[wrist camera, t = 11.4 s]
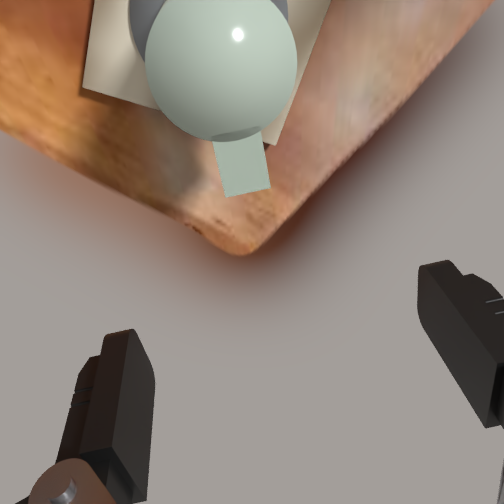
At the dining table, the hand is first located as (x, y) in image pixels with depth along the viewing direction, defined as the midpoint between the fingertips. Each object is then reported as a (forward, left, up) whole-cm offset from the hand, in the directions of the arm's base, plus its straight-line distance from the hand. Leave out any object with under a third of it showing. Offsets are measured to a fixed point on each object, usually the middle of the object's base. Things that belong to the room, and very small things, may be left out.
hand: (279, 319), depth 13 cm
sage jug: (-1, +2, -23) cm, 23 cm away
